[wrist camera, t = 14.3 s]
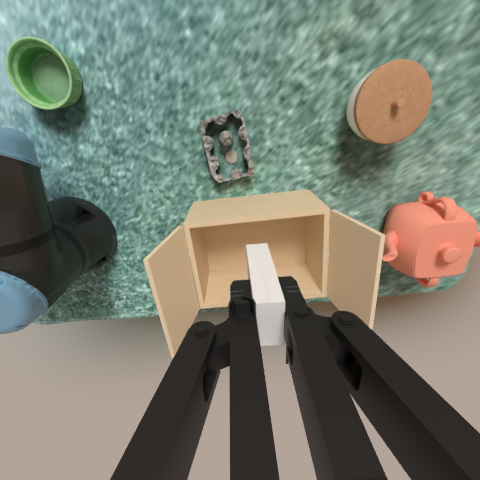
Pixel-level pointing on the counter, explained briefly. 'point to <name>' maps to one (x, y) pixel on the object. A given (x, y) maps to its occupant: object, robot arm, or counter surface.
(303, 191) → the carton
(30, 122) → the counter surface
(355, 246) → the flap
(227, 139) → the egg carton
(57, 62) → the ramekin
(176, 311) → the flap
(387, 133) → the lidded jar
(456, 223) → the teapot
